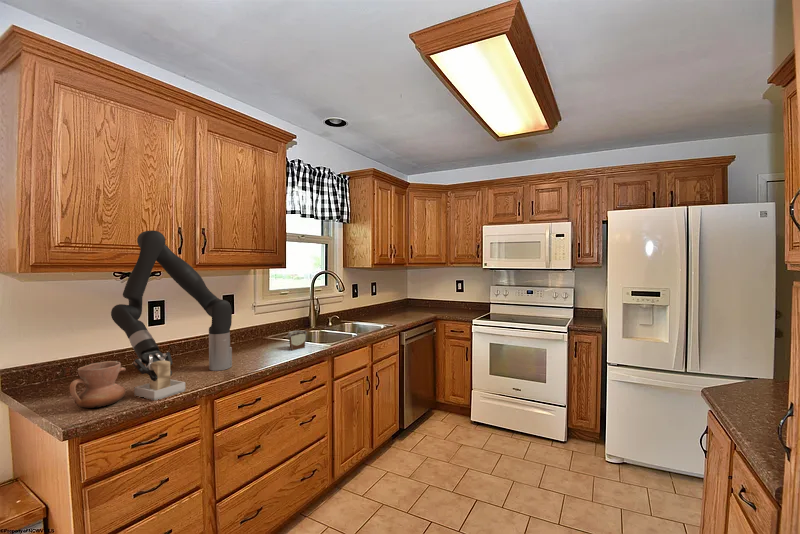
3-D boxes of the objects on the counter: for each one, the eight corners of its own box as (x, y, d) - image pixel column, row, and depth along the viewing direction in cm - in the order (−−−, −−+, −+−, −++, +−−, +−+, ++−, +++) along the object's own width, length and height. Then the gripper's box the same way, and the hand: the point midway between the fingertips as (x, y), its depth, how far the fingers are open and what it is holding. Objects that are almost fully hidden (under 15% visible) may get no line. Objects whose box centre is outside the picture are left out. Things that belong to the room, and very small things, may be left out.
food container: (300, 346, 237) (299, 329, 237) (306, 347, 233) (306, 330, 233) (283, 349, 227) (283, 332, 227) (290, 351, 223) (289, 333, 223)
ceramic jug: (114, 393, 152) (112, 357, 151) (138, 398, 146) (136, 360, 145) (58, 411, 135) (56, 370, 135) (82, 417, 129) (80, 374, 129)
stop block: (162, 385, 155) (162, 360, 155) (170, 386, 153) (170, 361, 153) (149, 388, 151) (149, 363, 150) (157, 390, 148) (157, 364, 148)
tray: (165, 386, 160) (165, 378, 160) (185, 391, 155) (185, 382, 155) (134, 396, 149) (134, 387, 149) (154, 400, 144) (154, 391, 144)
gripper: (128, 341, 148) (148, 376, 143) (165, 334, 161) (184, 367, 156) (120, 353, 151) (139, 389, 146) (157, 346, 164) (176, 378, 159)
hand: (163, 377), depth 151 cm, fingers closed on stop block, 5 cm apart
